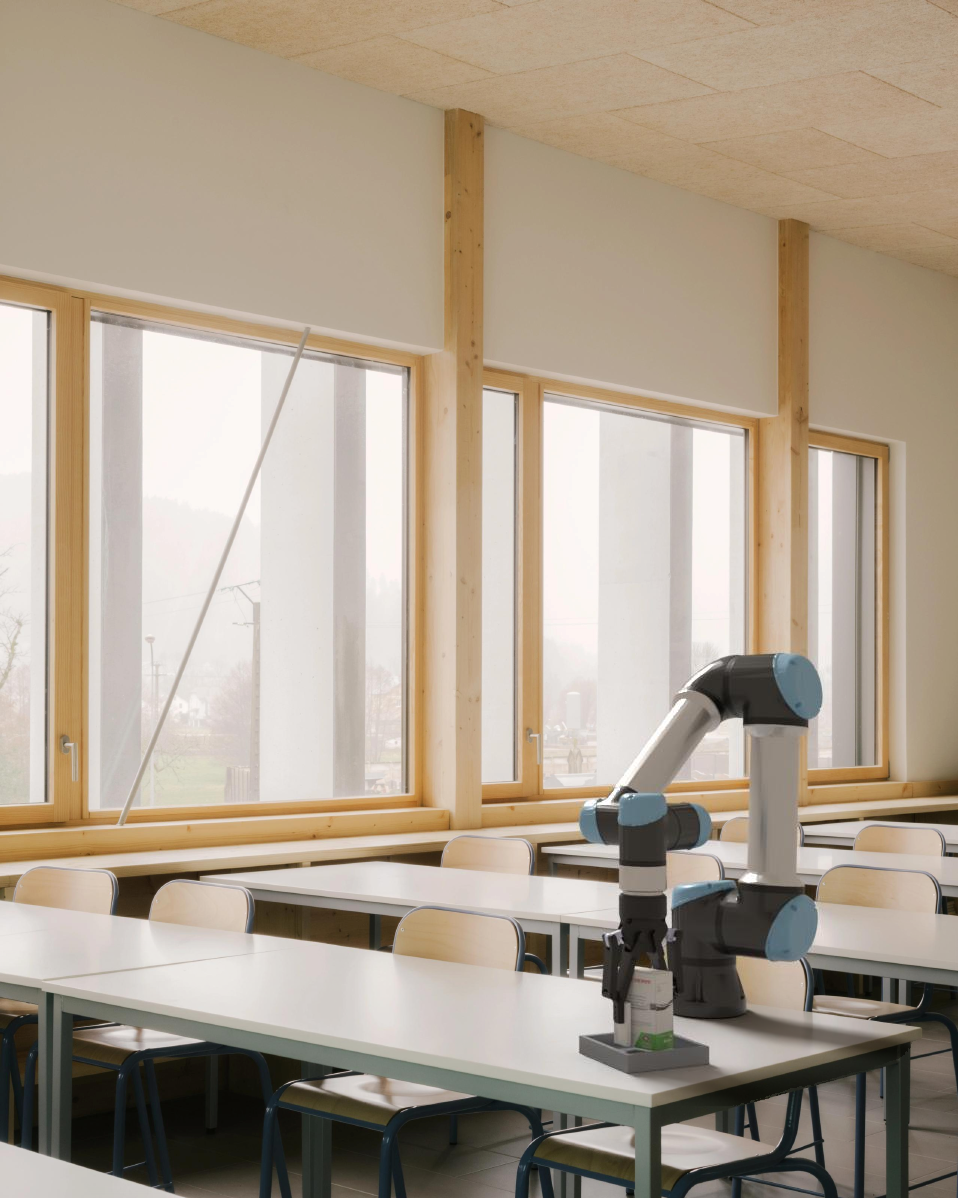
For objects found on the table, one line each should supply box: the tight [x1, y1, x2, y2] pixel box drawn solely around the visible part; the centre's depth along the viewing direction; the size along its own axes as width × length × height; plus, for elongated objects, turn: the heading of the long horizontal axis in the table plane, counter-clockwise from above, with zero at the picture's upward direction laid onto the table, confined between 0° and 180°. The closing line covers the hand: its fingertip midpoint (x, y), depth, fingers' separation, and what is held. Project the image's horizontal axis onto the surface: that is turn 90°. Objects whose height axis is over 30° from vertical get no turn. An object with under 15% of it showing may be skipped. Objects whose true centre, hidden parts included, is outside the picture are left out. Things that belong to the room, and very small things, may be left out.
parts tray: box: [578, 1031, 710, 1074], centre depth 219 cm, size 15×15×3 cm
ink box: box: [613, 965, 675, 1051], centre depth 220 cm, size 9×5×12 cm, turn 46°
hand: (643, 1042), depth 219 cm, fingers closed on ink box, 6 cm apart
